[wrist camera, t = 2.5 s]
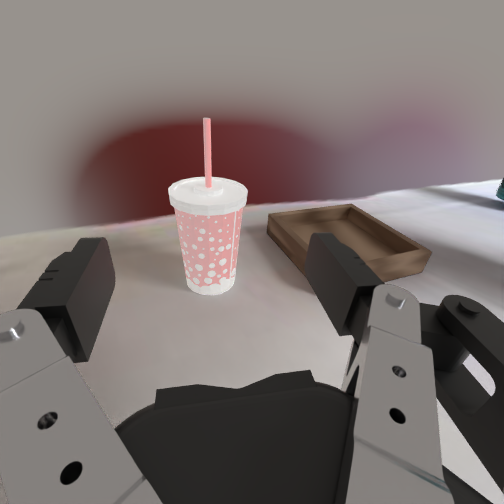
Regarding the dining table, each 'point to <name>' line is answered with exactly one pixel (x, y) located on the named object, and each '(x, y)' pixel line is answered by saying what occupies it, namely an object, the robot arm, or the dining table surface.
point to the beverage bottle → (501, 191)
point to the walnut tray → (349, 239)
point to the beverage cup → (208, 226)
